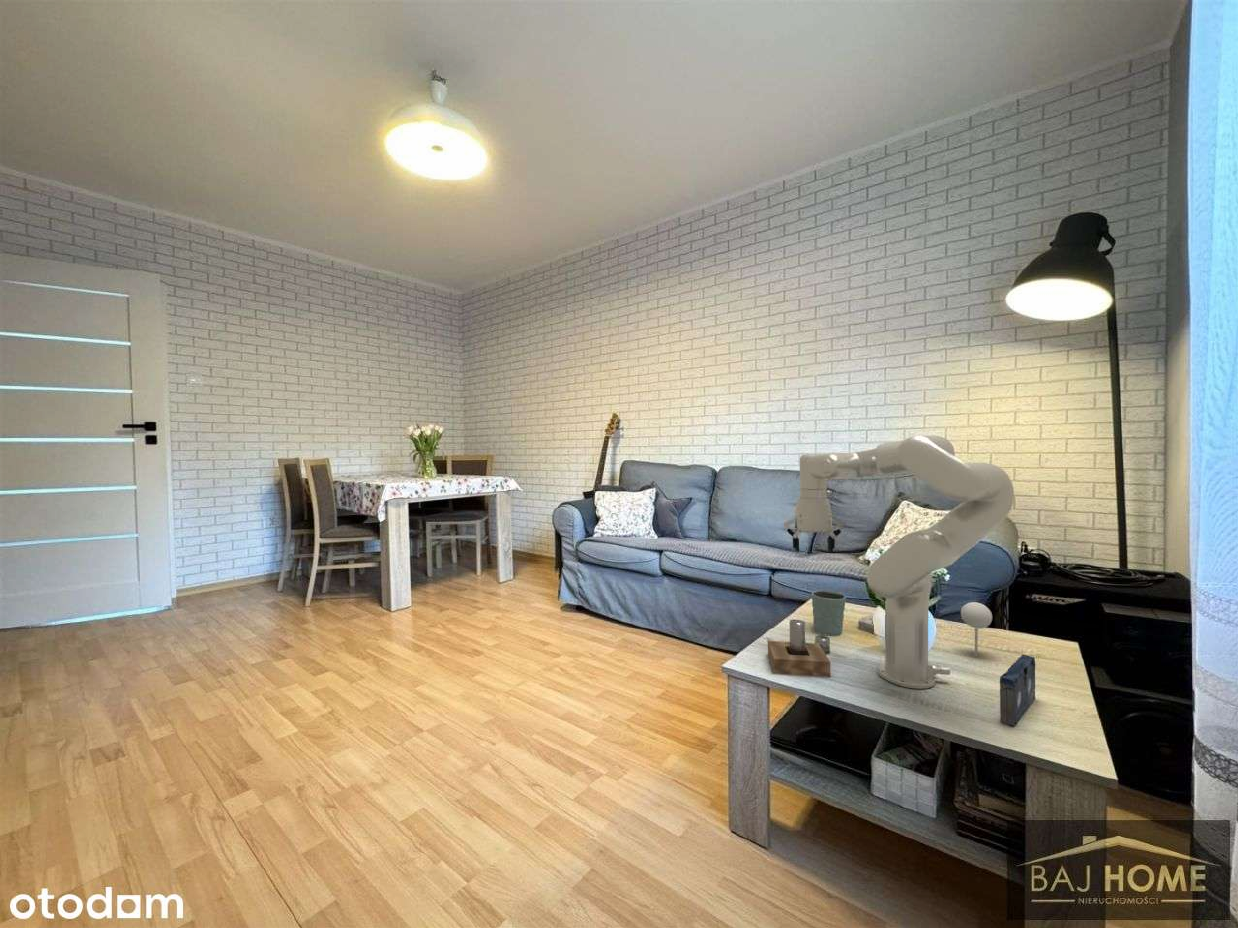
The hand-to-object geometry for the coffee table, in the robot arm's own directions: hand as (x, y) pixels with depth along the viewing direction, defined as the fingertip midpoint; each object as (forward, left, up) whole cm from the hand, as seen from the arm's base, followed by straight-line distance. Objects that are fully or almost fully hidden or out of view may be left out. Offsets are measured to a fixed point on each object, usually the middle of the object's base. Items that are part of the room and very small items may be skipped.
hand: (813, 550), depth 144 cm
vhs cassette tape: (-36, +33, -29) cm, 57 cm away
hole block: (+8, +17, -28) cm, 34 cm away
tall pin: (+8, +17, -28) cm, 34 cm away
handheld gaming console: (-25, -12, -29) cm, 40 cm away
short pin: (-1, +6, -28) cm, 29 cm away
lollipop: (-43, +3, -28) cm, 52 cm away
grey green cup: (-7, -11, -28) cm, 31 cm away
